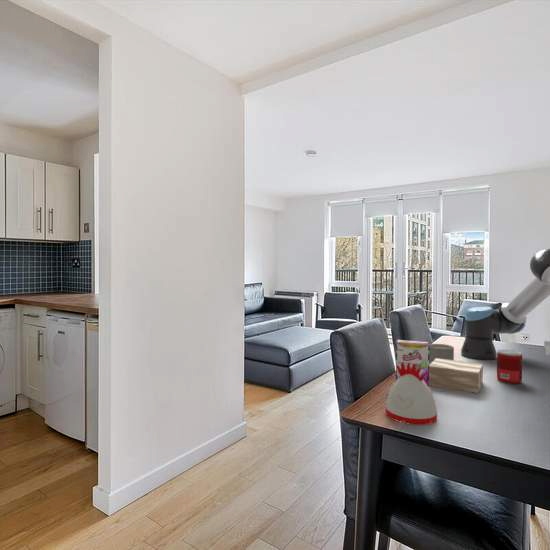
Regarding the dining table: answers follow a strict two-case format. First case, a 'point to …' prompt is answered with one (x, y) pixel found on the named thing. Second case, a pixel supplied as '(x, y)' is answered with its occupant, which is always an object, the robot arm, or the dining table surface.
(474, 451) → the dining table surface
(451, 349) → the coffee mug
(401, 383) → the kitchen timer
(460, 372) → the oak box
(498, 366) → the canned food
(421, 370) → the candy bar box
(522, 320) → the robot arm
